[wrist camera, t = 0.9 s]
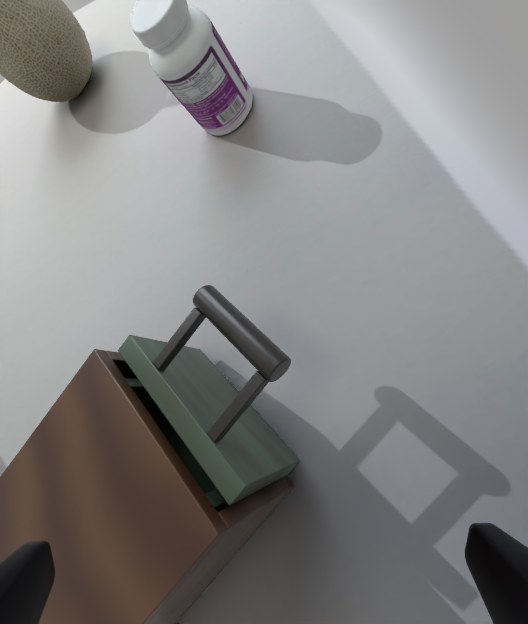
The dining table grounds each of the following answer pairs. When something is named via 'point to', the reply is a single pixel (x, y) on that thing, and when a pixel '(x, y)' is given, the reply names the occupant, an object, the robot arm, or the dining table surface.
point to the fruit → (43, 49)
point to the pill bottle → (193, 63)
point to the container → (213, 402)
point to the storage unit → (118, 507)
